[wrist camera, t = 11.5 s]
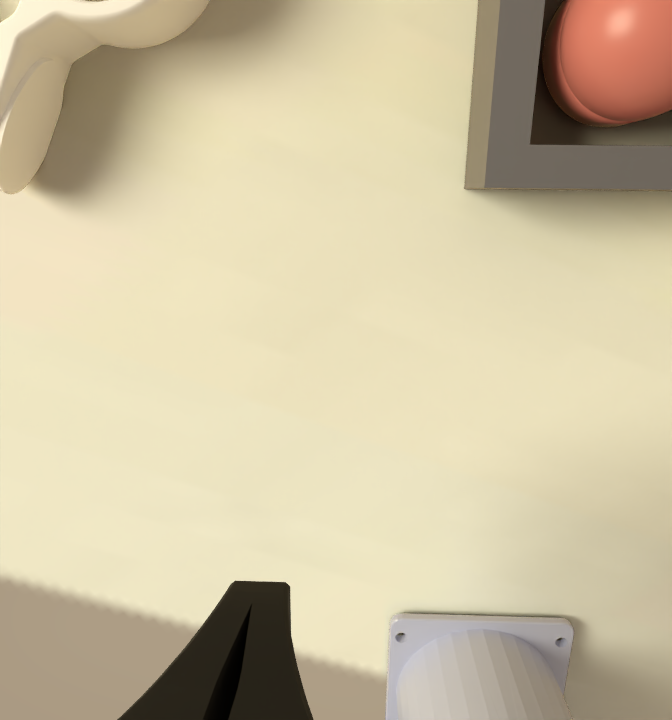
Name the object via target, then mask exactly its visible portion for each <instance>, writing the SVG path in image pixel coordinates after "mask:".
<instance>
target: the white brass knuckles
mask: <svg viewBox="0 0 672 720" xmlns="http://www.w3.org/2000/svg"><path fill="white" fill-rule="evenodd" d="M209 1H210V0H106V1H97V2H95V1H85V0H20V1H19V5H18V7H17V9H16V11H15V12H14V13H13V14H12V15H11V16H10V17H8V18H7V19H5V20H4V21H2V22H0V190H1V191H3V192H5V193H7V194H15V193H18V192H19V191H21V190H22V189H23V188H25V187H26V185H27V184H28V183H29V182H30V180H31V179H32V178H33V176H34V175H35V173H36V172H37V170H38V169H39V167H40V165H41V164H42V162H43V160H44V158H45V155H46V153H47V150H48V147H49V144H50V141H51V138H52V135H53V132H54V129H55V127H56V124H57V121H58V118H59V115H60V112H61V108H62V101H63V91H64V86H65V83H66V80H67V77H68V74H69V71H70V68H71V66H72V64H73V62H75V61H76V60H78V59H79V58H81V57H83V56H84V55H86V54H88V53H89V52H91V51H92V50H94V49H96V48H97V47H99V46H101V45H111V46H115V47H120V48H130V49H137V48H147V47H152V46H156V45H159V44H162V43H165V42H167V41H169V40H171V39H173V38H175V37H177V36H178V35H180V34H181V33H183V32H184V31H185V30H186V29H188V28H189V27H190V26H191V25H192V24H193V23H194V22H195V21H196V20H197V19H198V18H199V16H200V15H201V14H202V12H203V11H204V10H205V8H206V7H207V5H208V3H209Z"/></svg>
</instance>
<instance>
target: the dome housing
mask: <svg viewBox="0 0 672 720" xmlns="http://www.w3.org/2000/svg"><path fill="white" fill-rule="evenodd" d="M544 7H545V0H478V14H477V27H476V40H475V53H474V67H473V80H472V93H471V107H470V120H469V133H468V146H467V160H466V173H465V186H464V189H524V190H625V191H672V146H628V145H530V138H531V129H532V119H533V110H534V101H535V91H536V82H537V72H538V63H539V54H540V44H541V35H542V25H543V16H544Z"/></svg>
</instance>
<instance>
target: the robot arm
mask: <svg viewBox="0 0 672 720" xmlns="http://www.w3.org/2000/svg"><path fill="white" fill-rule="evenodd" d="M398 633H404V635H401V636H400V635H397V634H398ZM573 637H574V628H573V627H572V625H571V623H570V621H569V620H567V619H564V618H546V617H512V616H478V615H443V614H409V613H400V614H396V615H394V616H393V617H392V618H391V620H390V629H389V650H388V671H387V693H386V713H385V720H573V718H572V716H571V714H570V711H569V709H568V707H567V704H566V702H565V699H564V697H563V695H564V689H565V684H566V678H567V672H568V666H569V660H570V654H571V648H572V643H573ZM559 638H562V639H561V640H557V639H559ZM118 720H313V717H312V714H311V711H310V708H309V705H308V702H307V699H306V696H305V693H304V689H303V686H302V682H301V678H300V675H299V671H298V667H297V663H296V658H295V654H294V648H293V643H292V638H291V612H290V586H289V585H288V584H287V583H286V582H256V581H234V582H233V583H232V584H231V585H230V586H229V588H228V590H227V591H226V593H225V594H224V596H223V597H222V599H221V600H220V602H219V603H218V604H217V606H216V607H215V609H214V610H213V612H212V613H211V614H210V616H209V617H208V618H207V620H206V621H205V623H204V624H203V625H202V626H201V628H200V629H199V630H198V632H197V633H196V634H195V636H194V637H193V638H192V639H191V641H190V642H189V643H188V644H187V646H186V647H185V648H184V649H183V651H182V652H181V653H180V654H179V655H178V657H177V658H176V659H175V660H174V661H173V662H172V663H171V665H170V666H169V667H168V668H167V669H166V670H165V672H164V673H163V674H162V675H161V676H160V677H159V678H158V680H157V681H156V682H155V683H154V684H153V685H152V686H151V687H150V688H149V689H148V690H147V691H146V692H145V693H144V694H143V696H141V697H140V698H139V699H138V700H137V701H136V702H135V703H134V704H133V705H132V706H131V707H130V708H129V709H128V710H127V711H126V712H125V713H124V714H123V715H122V716H121V717H120V718H119V719H118Z"/></svg>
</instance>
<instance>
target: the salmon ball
mask: <svg viewBox="0 0 672 720" xmlns="http://www.w3.org/2000/svg"><path fill="white" fill-rule="evenodd" d="M543 71H544V76H545V81H546V84H547V87H548V90H549V92H550V94H551V96H552V98H553V99H554V101H555V102H556V103H557V105H558V106H559V107H560V108H561V109H562V110H563V111H564V112H565V113H566V114H567V115H569V116H570V117H571V118H573V119H575V120H576V121H578V122H581V123H583V124H586V125H589V126H594V127H616V126H621V125H625V124H629V123H633V122H637V121H640V120H644V119H648V118H651V117H654V116H657V115H660V114H663V113H665V112H667V111H669V110H671V109H672V0H563V2H562V3H561V5H560V6H559V7H558V9H557V11H556V12H555V14H554V16H553V18H552V20H551V22H550V25H549V27H548V30H547V34H546V37H545V41H544V47H543Z"/></svg>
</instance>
